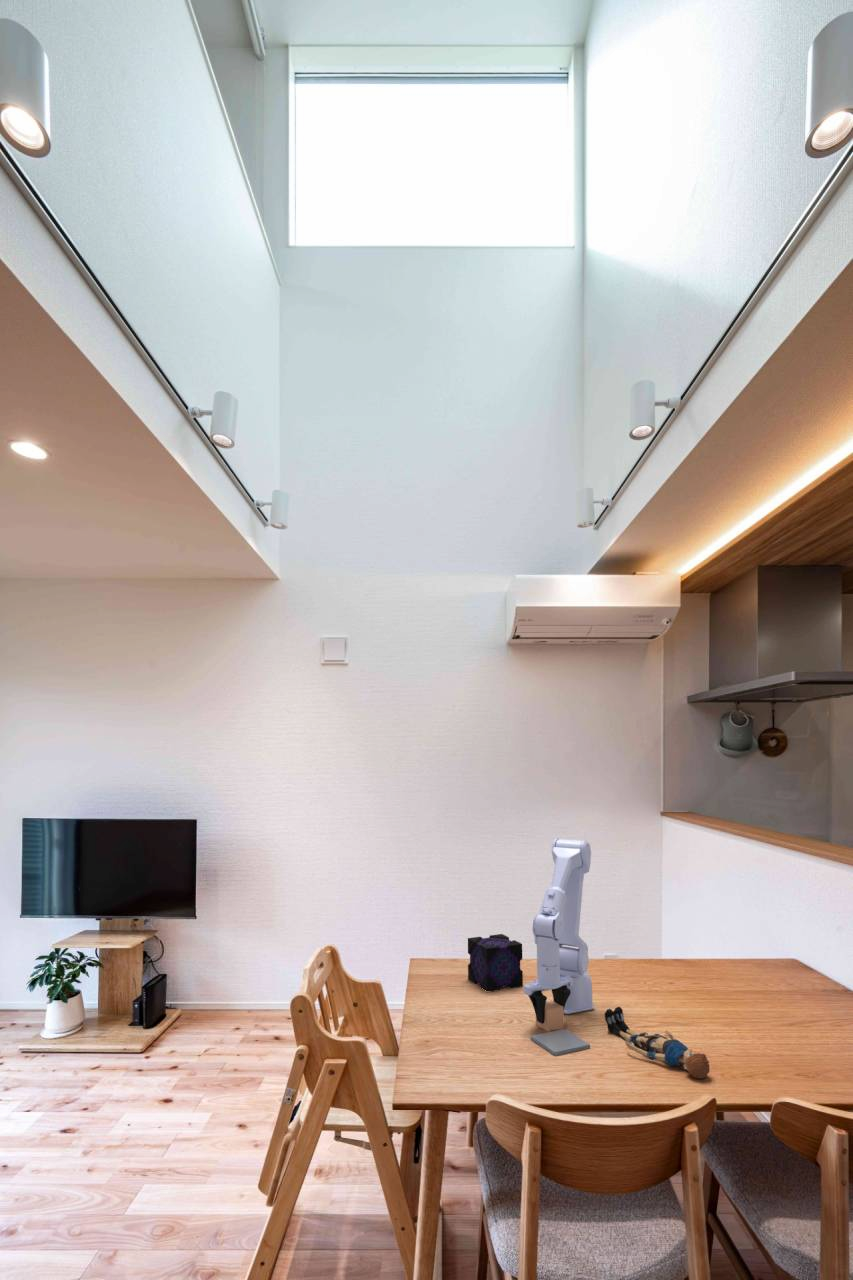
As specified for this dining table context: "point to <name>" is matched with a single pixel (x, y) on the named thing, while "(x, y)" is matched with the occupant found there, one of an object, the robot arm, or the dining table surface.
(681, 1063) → the figurine
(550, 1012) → the terracotta cube
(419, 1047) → the dining table surface
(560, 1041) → the plate
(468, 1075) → the dining table surface
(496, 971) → the energy cube
